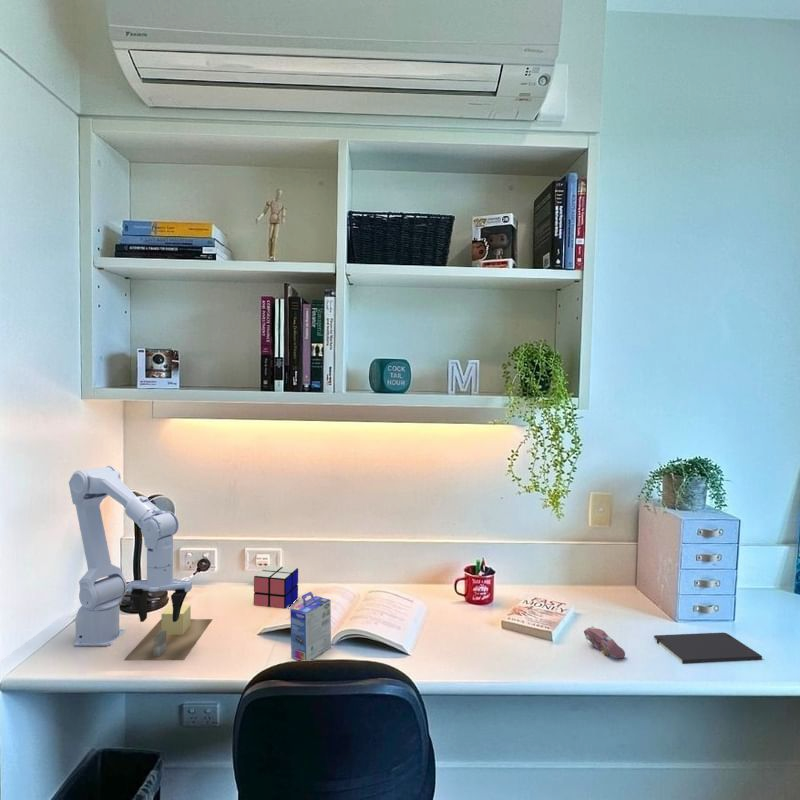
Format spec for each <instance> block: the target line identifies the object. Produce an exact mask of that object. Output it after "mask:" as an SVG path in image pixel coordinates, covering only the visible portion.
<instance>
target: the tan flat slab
mask: <svg viewBox="0 0 800 800" xmlns="http://www.w3.org/2000/svg"><path fill="white" fill-rule="evenodd" d="M212 621H213V619H211V618H206V619H205V618H200V619H199V618H197V619H196V618H191V620H190V627H189V628H188V629H187V630H186V632H185V633H184V634H183V635H166V631H162V618H161V619H159V621H158V622H157V623H156V624H155V625H154V627H153V628H151V630H149V632H148V633H147V634H146V635H145V636H144V637H143V638H142V639H141V640H140V642H138V644H137V645H136V646H134V648H133V649H132V650H131V651H130V652H129V654H127V656H126V657H125V658H124V659H123V661H185V660H186V658H187V656H188V655H189V654H190V653H191V652H192V649H193V648H194V647H195V645H197V642H198V641H199V640H200V638H201V637H202V636H203V634H204V632H205V631H206V629H208V627H209V625H210V624H211V623H212Z"/></svg>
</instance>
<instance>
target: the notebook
mask: <svg viewBox="0 0 800 800" xmlns="http://www.w3.org/2000/svg"><path fill="white" fill-rule="evenodd" d="M653 638H654V642H656V644H658V645H660V646H661V647H662V648H663V649H665V650H666V651H667V652H668V653H669V654H671V656H673V657H674V658H675V659H677V661H679V662H681V663H682V665H683V664H685V665H686V664H702V663H703V664H706V663H726V662H727V663H729V662H745V661H747V662H748V661H749V662H750V661H762V660H763V656H762V655H761V654H759V653H758V652H757V651H755V650H753V649H752V648H750V647H749V646H747V645H746V644H744V643H743V642H741V641H740V640H738V639H737V638H735V637H733V636H732V635H730V634H729V633H727V632H704V633H683V634H682V633H680V634H659V635H657V634H655V635H653Z"/></svg>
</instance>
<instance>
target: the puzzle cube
mask: <svg viewBox="0 0 800 800" xmlns="http://www.w3.org/2000/svg"><path fill="white" fill-rule="evenodd" d="M298 584H299V568H298V567H292V566H291V567H290V566H281V565H279V566H278V565H267V566H266V567H265V568H264V569H262V570H261V571H260V572H258V573H257V574H255V575H254V576H253V592H254V593H253V606H254V607H263V608H273V609H283V610H284V609H288V608H289V607H290V605H291V604H292V603H293V602H294V601H295V600H296V599H297V598H298V599H299V585H298ZM290 608H291V607H290Z"/></svg>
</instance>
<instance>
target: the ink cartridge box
mask: <svg viewBox="0 0 800 800" xmlns="http://www.w3.org/2000/svg"><path fill="white" fill-rule="evenodd" d="M307 597H310V598H308V599H307V600H306V598H307ZM301 599H302V601H303V602H302V603H300V604H298V605H296V606H295V607H292V608H291V609H290V608H289V610H290V611H289V612H290V613H289V615H290V650H291V652H290V653H291V659H294V660H296V661H299V660H310V661H312V660H314V659H315V658H316V657H318V656H320V654H322V653H324V652H326V651H327V650H328V649H330V648H331V646H332V626H331V625H332V621H331V620H332V617H331V616H332V612H331V609H332V608H331V603H332V602H331V599H329V598H324V597H321V596H318V595H313V592H312V591H309V592H306V593H304V594H302V595H301ZM311 659H312V660H311Z"/></svg>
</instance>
